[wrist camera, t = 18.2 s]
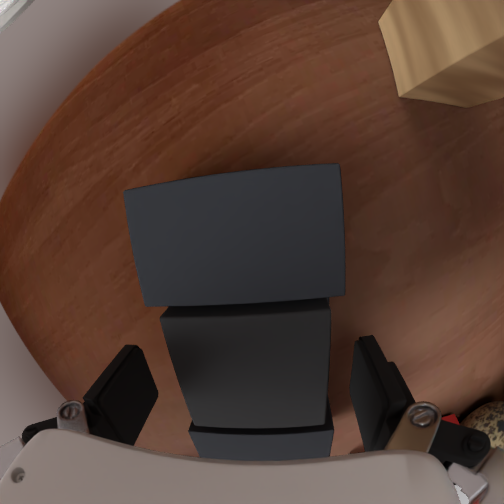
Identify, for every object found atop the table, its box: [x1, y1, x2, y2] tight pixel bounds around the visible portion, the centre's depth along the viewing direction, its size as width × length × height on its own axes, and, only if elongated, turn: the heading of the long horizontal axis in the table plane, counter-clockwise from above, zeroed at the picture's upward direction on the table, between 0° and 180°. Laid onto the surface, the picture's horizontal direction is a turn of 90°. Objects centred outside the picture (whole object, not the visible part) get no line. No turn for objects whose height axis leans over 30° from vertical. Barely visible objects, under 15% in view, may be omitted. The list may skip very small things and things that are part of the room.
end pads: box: [123, 163, 345, 461], centre depth 12 cm, size 8×16×4 cm, turn 6°
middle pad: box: [160, 297, 331, 428], centre depth 12 cm, size 6×6×4 cm
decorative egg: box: [460, 401, 504, 450], centre depth 12 cm, size 7×7×10 cm
